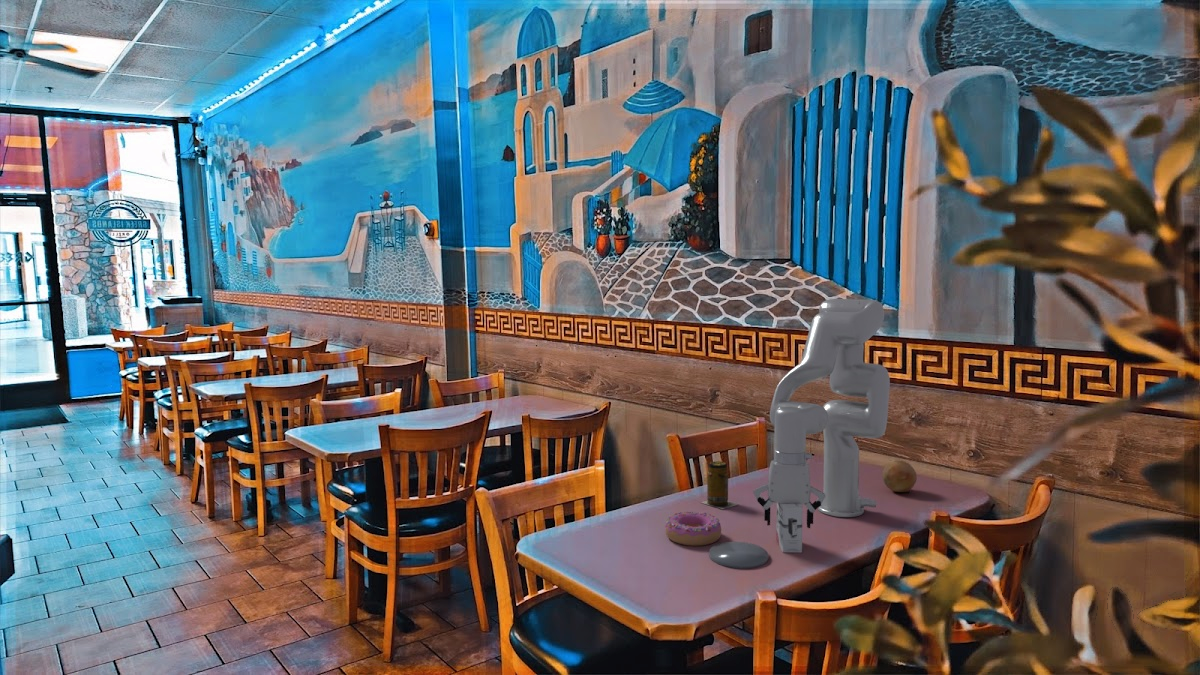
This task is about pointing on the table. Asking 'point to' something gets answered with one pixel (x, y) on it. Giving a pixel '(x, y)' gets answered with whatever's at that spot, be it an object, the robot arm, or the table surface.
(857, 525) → the table surface
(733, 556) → the grey oval disc
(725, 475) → the condiment
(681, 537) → the donut
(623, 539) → the table surface
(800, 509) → the ink box
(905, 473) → the onion
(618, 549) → the table surface
